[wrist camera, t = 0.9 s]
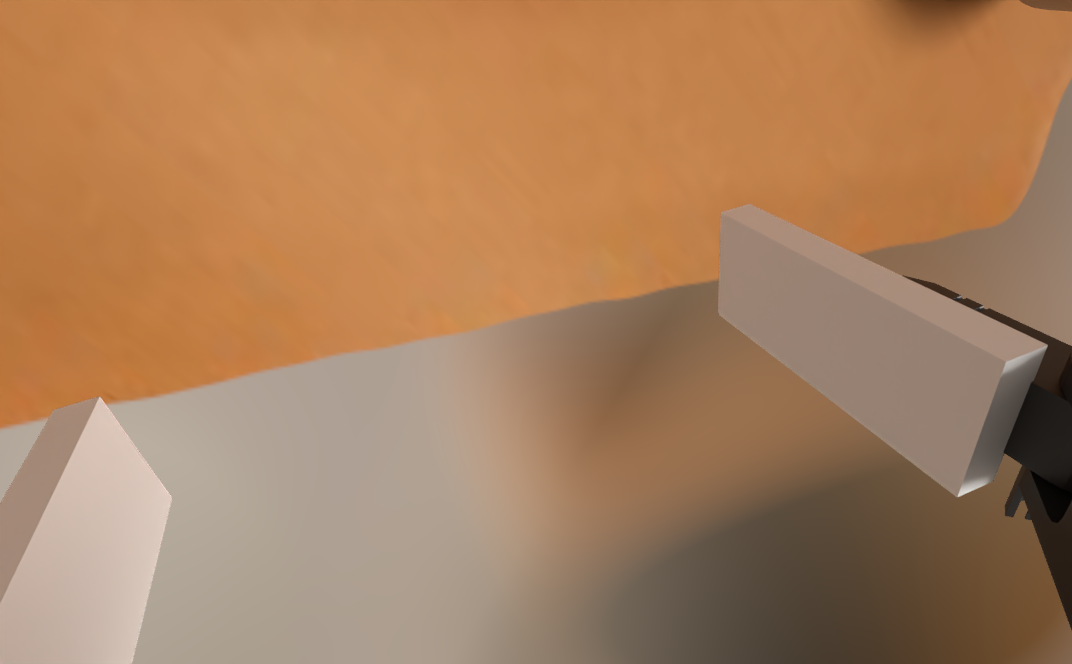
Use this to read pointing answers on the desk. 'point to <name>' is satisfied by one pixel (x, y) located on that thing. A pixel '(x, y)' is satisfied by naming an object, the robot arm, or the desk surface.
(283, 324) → the desk surface
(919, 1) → the desk surface
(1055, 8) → the bowl
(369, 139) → the desk surface
